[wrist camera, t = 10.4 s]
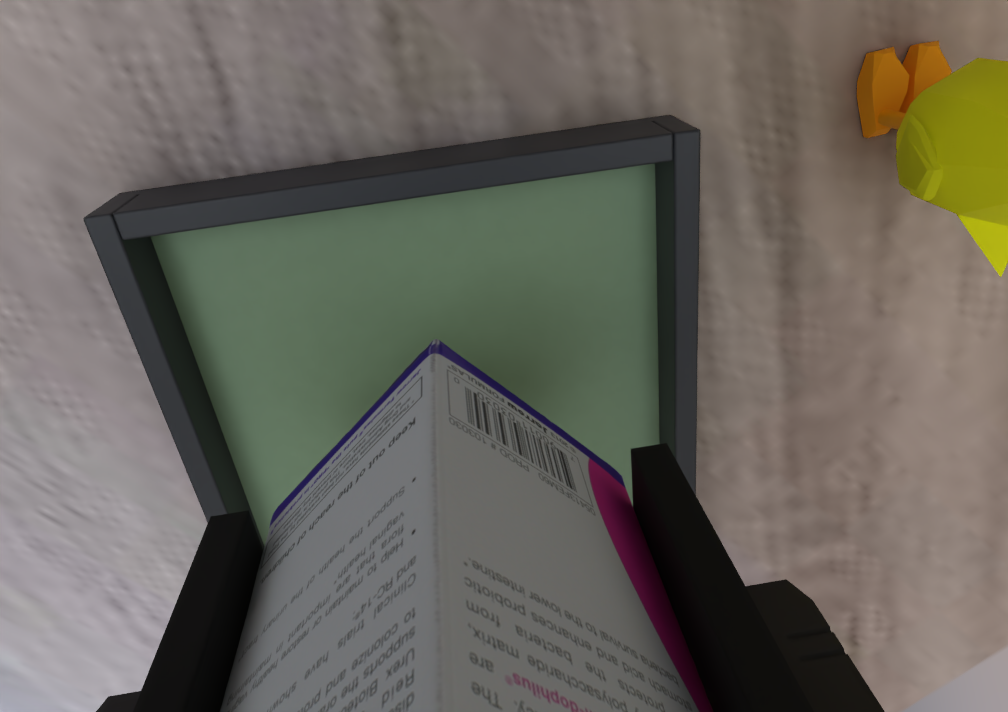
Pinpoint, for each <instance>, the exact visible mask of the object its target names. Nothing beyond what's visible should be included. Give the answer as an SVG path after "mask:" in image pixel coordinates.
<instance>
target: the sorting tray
mask: <svg viewBox="0 0 1008 712" xmlns="http://www.w3.org/2000/svg"><path fill="white" fill-rule="evenodd" d="M699 202H700V130H699V129H697V128H695V127H693V126H691V125H689V124H687V123H685V122H683V121H681V120H679V119H677V118H676V117H674V116H672V115H666V116H659V117H652V118H645V119H638V120H631V121H624V122H617V123H610V124H603V125H596V126H589V127H582V128H575V129H568V130H561V131H554V132H547V133H540V134H533V135H526V136H519V137H512V138H505V139H498V140H491V141H484V142H477V143H470V144H463V145H456V146H449V147H442V148H435V149H428V150H420V151H413V152H406V153H399V154H392V155H385V156H378V157H371V158H364V159H357V160H350V161H343V162H336V163H329V164H322V165H315V166H308V167H301V168H294V169H287V170H280V171H273V172H266V173H259V174H252V175H245V176H238V177H231V178H224V179H217V180H210V181H203V182H196V183H189V184H182V185H175V186H168V187H160V188H153V189H146V190H139V191H132V192H125V193H120V194H118V195H117V196H115V197H114V198H112V199H111V200H109V201H108V202H106V203H105V204H103V205H102V206H100V207H99V208H97V209H96V210H95V211H93V212H92V213H90V214H89V215H87V216H86V217H84V222H85V225H86V227H87V229H88V232H89V234H90V237H91V239H92V242H93V244H94V246H95V249H96V251H97V254H98V256H99V259H100V261H101V264H102V266H103V268H104V271H105V273H106V276H107V278H108V281H109V283H110V285H111V288H112V290H113V293H114V295H115V298H116V300H117V303H118V305H119V307H120V310H121V312H122V315H123V317H124V320H125V322H126V324H127V327H128V329H129V332H130V334H131V337H132V339H133V342H134V344H135V346H136V349H137V351H138V354H139V356H140V359H141V361H142V364H143V366H144V368H145V371H146V373H147V376H148V378H149V381H150V383H151V385H152V388H153V390H154V393H155V395H156V398H157V400H158V403H159V405H160V407H161V410H162V412H163V415H164V417H165V420H166V422H167V424H168V427H169V429H170V432H171V434H172V437H173V439H174V442H175V444H176V446H177V449H178V451H179V454H180V456H181V459H182V461H183V463H184V466H185V468H186V471H187V473H188V476H189V478H190V481H191V483H192V485H193V488H194V490H195V493H196V495H197V498H198V500H199V502H200V505H201V507H202V510H203V512H204V515H205V517H206V520H207V522H209V520H210V517H211V516H217V515H223V514H229V513H236V512H242V511H248V510H249V513H250V515H251V518H252V521H253V524H254V526H255V529H256V532H257V534H258V537H259V540H260V543H261V545H262V548H263V550H264V547H265V543H266V540H267V536H268V532H269V527H270V522H271V519H272V516H273V513H274V512H275V510H276V509H277V507H278V506H279V505H280V504H281V503H282V502H283V501H284V500H285V499H286V497H287V496H288V495H289V494H290V493H291V492H292V491H293V490H294V489H295V488H296V486H297V485H298V484H299V483H300V482H301V481H302V480H303V479H304V478H305V477H306V476H307V475H308V473H309V472H310V471H311V470H312V469H313V468H314V467H315V466H316V465H317V464H318V463H319V462H320V461H321V460H322V459H323V458H324V456H325V455H326V454H327V453H328V452H329V451H330V450H331V449H332V448H333V447H334V446H335V445H336V444H337V443H338V442H339V441H340V439H341V438H342V437H343V436H344V435H345V434H346V433H347V432H348V431H350V430H351V428H352V427H353V426H354V425H355V424H356V423H357V422H358V421H359V419H360V418H361V417H362V416H363V415H364V414H365V413H366V412H367V411H368V410H369V409H370V407H371V406H372V405H373V404H374V403H375V402H376V401H377V400H378V399H379V398H380V397H381V396H382V394H383V393H384V392H385V391H386V390H387V389H388V388H389V387H390V386H391V385H392V383H393V382H394V381H395V380H396V379H397V377H398V376H399V375H400V374H401V373H402V372H403V371H404V370H405V368H406V367H407V366H408V365H409V364H410V363H411V362H412V361H413V360H414V359H415V358H416V357H417V356H418V355H419V354H420V353H421V352H422V351H423V350H424V349H425V348H426V347H427V346H428V345H429V344H430V342H431V341H433V340H434V339H438V340H440V341H441V342H443V343H444V344H445V345H447V346H448V347H449V348H451V349H452V350H453V351H454V352H456V353H457V354H459V355H460V356H461V357H463V358H464V359H465V360H467V361H468V362H470V363H471V364H472V365H474V366H475V367H477V368H478V369H480V370H481V371H482V372H484V373H485V374H487V375H488V376H489V377H491V378H492V379H494V380H495V381H496V382H498V383H499V384H501V385H502V386H503V387H505V388H506V389H507V390H509V391H510V392H512V393H513V394H514V395H516V396H517V397H518V398H520V399H521V400H523V401H524V402H525V403H527V404H528V405H529V406H531V407H532V408H533V409H535V410H536V411H537V412H539V413H540V414H542V415H543V416H545V417H546V418H547V419H548V420H550V421H551V422H553V423H554V424H556V425H557V426H558V427H560V428H561V429H563V430H564V431H565V432H566V433H568V434H569V435H570V436H572V437H573V438H574V439H576V440H577V441H578V442H580V443H581V444H582V445H584V446H585V447H586V448H588V449H589V450H590V451H592V452H593V453H594V454H596V455H597V456H598V457H600V458H601V459H602V460H604V461H605V462H607V463H608V464H609V465H610V466H612V467H613V468H614V469H615V470H616V471H617V472H618V473H619V474H620V475H621V476H622V478H623V481H624V484H625V487H626V490H627V493H628V495H629V498H630V501H631V503H632V506H633V494H632V469H631V449H632V448H638V447H645V446H651V445H657V444H663V443H667V444H668V446H669V448H670V450H671V452H672V453H673V455H674V457H675V459H676V461H677V463H678V464H679V466H680V468H681V470H682V472H683V474H684V475H685V477H686V479H687V481H688V483H689V484H690V486H691V488H692V490H693V492H694V494H695V495H696V425H697V350H698V276H699Z"/></svg>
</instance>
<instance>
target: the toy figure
mask: <svg viewBox="0 0 1008 712" xmlns="http://www.w3.org/2000/svg"><path fill="white" fill-rule="evenodd" d="M951 72H952V70H951V68H950V67H949V65H948V63H947V61H946V59H945V57H944V55H943V54H942V52H941V50H940V47H939V41H933V42H927V43H920V44H916V45H912V46H910V48H909V50H908V53H907V55H906V57H905V60H904V62H903V64H901V62H900V61H899V60H898V58H897V57H896V53H895V49H894V47H891V48H887V49H882V50H878V51H874V52H870V53H867V54H866V57H865V60H864V63H863V66H862V69H861V71H860V74H859V77H858V80H857V101H858V107H859V113H860V120H861V126H862V132H863V137H865V138H870V137H874V136H879V135H883V134H887V133H888V132H889V130H890V129H891V128H894V129H897V130H898V131H897V140H896V150H897V153H896V162H897V170H898V177H899V184H900V185H902V186H903V187H904V188H906V189H908V190H909V191H910V193H911V195H913V196H915V197H918V198H920V199H922V200H925V201H927V202H929V203H932V204H934V205H937V206H939V207H941V208H944V209H946V210H948V211H951V212H953V213H956V214H957V216H958V217H959V219H960V220H961V221H962V223H963V224H964V226H965V227H966V228H967V230H968V231H969V233H970V234H971V236H972V237H973V238H974V240H975V241H976V243H977V244H978V246H979V247H980V248H981V250H982V251H983V253H984V254H985V256H986V257H987V258H988V260H989V261H990V263H991V264H992V265H993V267H994V268H995V270H996V271H997V273H998V274H999V275H1000V277H1001V276H1002V274H1003V272H1004V270H1005V267H1006V265H1007V263H1008V61H1000V60H992V59H984V58H977V59H975V60H973V61H972V62H970V63H968V64H967V65H965V66H963V67H962V68H960V69H958V70H957V71H955V72H953V73H952V74H951Z"/></svg>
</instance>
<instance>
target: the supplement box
mask: <svg viewBox="0 0 1008 712" xmlns="http://www.w3.org/2000/svg"><path fill="white" fill-rule="evenodd" d="M220 712H713V709H712V707H711V704H710V702H709V700H708V698H707V695H706V692H705V688H704V686H703V684H702V681H701V679H700V677H699V674H698V671H697V668H696V665H695V663H694V661H693V659H692V656H691V654H690V651H689V649H688V646H687V643H686V641H685V638H684V636H683V633H682V631H681V629H680V626H679V623H678V620H677V618H676V616H675V613H674V611H673V608H672V606H671V603H670V601H669V598H668V595H667V593H666V590H665V588H664V585H663V582H662V580H661V577H660V575H659V572H658V570H657V567H656V565H655V562H654V560H653V557H652V554H651V552H650V549H649V547H648V544H647V542H646V539H645V536H644V534H643V531H642V529H641V526H640V524H639V521H638V519H637V516H636V514H635V511H634V508H633V506H632V503H631V501H630V498H629V495H628V493H627V490H626V487H625V484H624V481H623V478H622V476H621V475H620V474H619V473H618V472H617V471H616V470H615V469H614V468H613V467H612V466H610V465H609V464H608V463H607V462H605V461H604V460H602V459H601V458H600V457H598V456H597V455H596V454H594V453H593V452H592V451H590V450H589V449H588V448H586V447H585V446H584V445H582V444H581V443H580V442H578V441H577V440H576V439H574V438H573V437H572V436H570V435H569V434H568V433H566V432H565V431H564V430H563V429H561V428H560V427H558V426H557V425H556V424H554V423H553V422H551V421H550V420H548V419H547V418H546V417H545V416H543V415H542V414H540V413H539V412H537V411H536V410H535V409H533V408H532V407H531V406H529V405H528V404H527V403H525V402H524V401H523V400H521V399H520V398H518V397H517V396H516V395H514V394H513V393H512V392H510V391H509V390H507V389H506V388H505V387H503V386H502V385H501V384H499V383H498V382H496V381H495V380H494V379H492V378H491V377H489V376H488V375H487V374H485V373H484V372H482V371H481V370H480V369H478V368H477V367H475V366H474V365H472V364H471V363H470V362H468V361H467V360H465V359H464V358H463V357H461V356H460V355H459V354H457V353H456V352H454V351H453V350H452V349H451V348H449V347H448V346H447V345H445V344H444V343H443V342H441V341H440V340H438V339H434V340H433V341H431V342H430V344H429V345H428V346H427V347H426V348H425V349H424V350H423V351H422V352H421V353H420V354H419V355H418V356H417V357H416V358H415V359H414V360H413V361H412V362H411V363H410V364H409V365H408V366H407V367H406V368H405V370H404V371H403V372H402V373H401V374H400V375H399V376H398V377H397V379H396V380H395V381H394V382H393V383H392V385H391V386H390V387H389V388H388V389H387V390H386V391H385V392H384V393H383V394H382V396H381V397H380V398H379V399H378V400H377V401H376V402H375V403H374V404H373V405H372V406H371V407H370V409H369V410H368V411H367V412H366V413H365V414H364V415H363V416H362V417H361V418H360V419H359V421H358V422H357V423H356V424H355V425H354V426H353V427H352V428H351V430H350V431H348V432H347V433H346V434H345V435H344V436H343V437H342V438H341V439H340V441H339V442H338V443H337V444H336V445H335V446H334V447H333V448H332V449H331V450H330V451H329V452H328V453H327V454H326V455H325V456H324V458H323V459H322V460H321V461H320V462H319V463H318V464H317V465H316V466H315V467H314V468H313V469H312V470H311V471H310V472H309V473H308V475H307V476H306V477H305V478H304V479H303V480H302V481H301V482H300V483H299V484H298V485H297V486H296V488H295V489H294V490H293V491H292V492H291V493H290V494H289V495H288V496H287V497H286V499H285V500H284V501H283V502H282V503H281V504H280V505H279V506H278V507H277V509H276V510H275V512H274V513H273V516H272V519H271V522H270V527H269V532H268V536H267V540H266V543H265V547H264V550H263V553H262V557H261V561H260V564H259V568H258V572H257V575H256V580H255V584H254V588H253V592H252V596H251V600H250V604H249V608H248V612H247V616H246V619H245V623H244V627H243V630H242V634H241V637H240V641H239V645H238V648H237V652H236V655H235V659H234V663H233V666H232V670H231V673H230V677H229V680H228V684H227V687H226V691H225V695H224V699H223V703H222V706H221V709H220Z"/></svg>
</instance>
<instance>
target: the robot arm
mask: <svg viewBox="0 0 1008 712" xmlns="http://www.w3.org/2000/svg"><path fill="white" fill-rule="evenodd" d="M631 469H632V494H633V508H634V511H635V514H636V516H637V519H638V521H639V524H640V526H641V529H642V531H643V534H644V536H645V539H646V542H647V544H648V547H649V549H650V552H651V554H652V557H653V560H654V562H655V565H656V567H657V570H658V572H659V575H660V577H661V580H662V582H663V585H664V588H665V590H666V593H667V595H668V598H669V601H670V603H671V606H672V608H673V611H674V613H675V616H676V618H677V620H678V623H679V626H680V629H681V631H682V633H683V636H684V638H685V641H686V643H687V646H688V649H689V651H690V654H691V656H692V659H693V661H694V663H695V665H696V668H697V671H698V674H699V677H700V679H701V681H702V684H703V686H704V688H705V692H706V695H707V698H708V700H709V702H710V704H711V707H712V709H713V712H884V710H883V708H882V707H881V705H880V704H879V702H878V701H877V699H876V698H875V696H874V695H873V693H872V691H871V690H870V688H869V687H868V685H867V684H866V682H865V681H864V679H863V677H862V676H861V674H860V673H859V671H858V670H857V668H856V667H855V665H854V664H853V662H852V660H851V659H850V657H849V656H848V654H845V652H844V648H843V647H842V645H841V643H840V642H839V640H838V639H837V637H836V636H835V634H834V633H833V632H831V630H830V626H829V625H828V623H827V622H826V620H825V619H824V617H823V616H822V614H821V612H820V611H819V609H818V608H817V606H816V605H815V603H814V602H813V600H812V599H810V598H809V597H808V596H806V595H805V594H804V593H803V592H801V591H800V590H799V589H798V588H796V587H795V586H794V585H793V584H791V583H790V582H789V581H787V580H780V581H775V582H769V583H763V584H757V585H751V586H745V585H744V583H743V581H742V579H741V578H740V576H739V574H738V572H737V570H736V568H735V567H734V565H733V563H732V561H731V559H730V558H729V556H728V554H727V552H726V550H725V548H724V547H723V545H722V543H721V541H720V539H719V537H718V536H717V534H716V532H715V530H714V528H713V526H712V525H711V523H710V521H709V519H708V517H707V516H706V514H705V512H704V510H703V508H702V506H701V505H700V503H699V501H698V499H697V497H696V495H695V494H694V492H693V490H692V488H691V486H690V484H689V483H688V481H687V479H686V477H685V475H684V474H683V472H682V470H681V468H680V466H679V464H678V463H677V461H676V459H675V457H674V455H673V453H672V452H671V450H670V448H669V446H668V444H667V443H663V444H657V445H651V446H645V447H638V448H632V449H631ZM262 553H263V548H262V545H261V543H260V540H259V537H258V534H257V532H256V529H255V526H254V524H253V521H252V518H251V515H250V513H249V510H248V511H242V512H236V513H229V514H223V515H217V516H211V517H210V520H209V522H208V525H207V527H206V530H205V532H204V535H203V537H202V540H201V542H200V545H199V547H198V550H197V552H196V555H195V557H194V560H193V562H192V565H191V567H190V570H189V572H188V575H187V577H186V580H185V582H184V585H183V587H182V590H181V592H180V595H179V598H178V600H177V603H176V605H175V608H174V610H173V613H172V615H171V618H170V620H169V623H168V625H167V628H166V630H165V633H164V635H163V638H162V640H161V643H160V645H159V648H158V650H157V653H156V655H155V658H154V660H153V663H152V665H151V668H150V670H149V673H148V675H147V678H146V680H145V683H144V685H143V688H142V690H141V691H139V692H133V693H127V694H121V695H115V696H110V697H108V698H107V699H106V700H105V702H104V703H103V704H102V705H101V706H100V708H99V709H98V710H97V711H96V712H220V709H221V706H222V703H223V699H224V695H225V691H226V687H227V684H228V680H229V677H230V673H231V670H232V666H233V663H234V659H235V655H236V652H237V648H238V645H239V641H240V637H241V634H242V630H243V627H244V623H245V619H246V616H247V612H248V608H249V604H250V600H251V596H252V592H253V588H254V584H255V580H256V575H257V572H258V568H259V564H260V561H261V557H262Z"/></svg>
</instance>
